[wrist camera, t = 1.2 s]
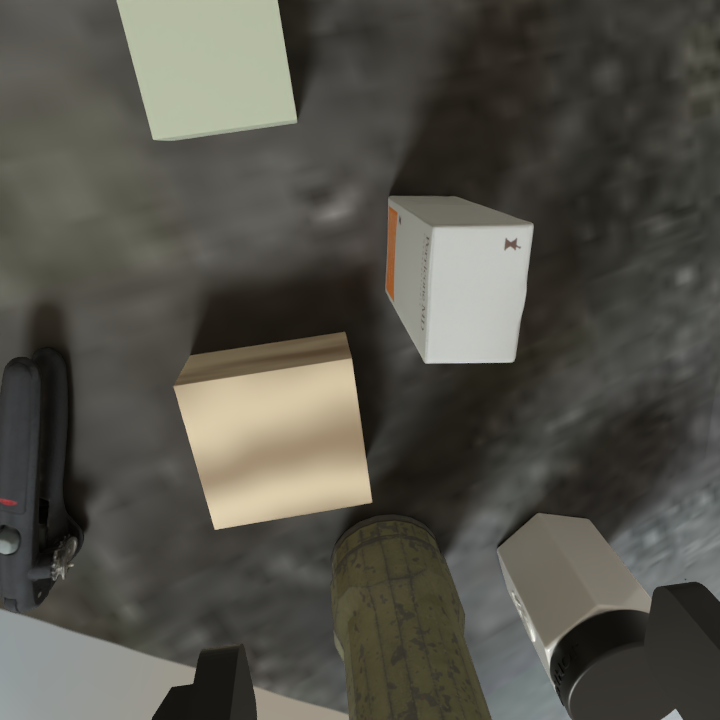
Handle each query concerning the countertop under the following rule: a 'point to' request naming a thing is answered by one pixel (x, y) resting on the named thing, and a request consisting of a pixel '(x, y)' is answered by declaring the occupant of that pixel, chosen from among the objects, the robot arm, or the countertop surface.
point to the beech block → (275, 429)
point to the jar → (583, 618)
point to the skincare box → (457, 277)
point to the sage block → (209, 65)
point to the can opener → (34, 480)
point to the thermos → (401, 625)
